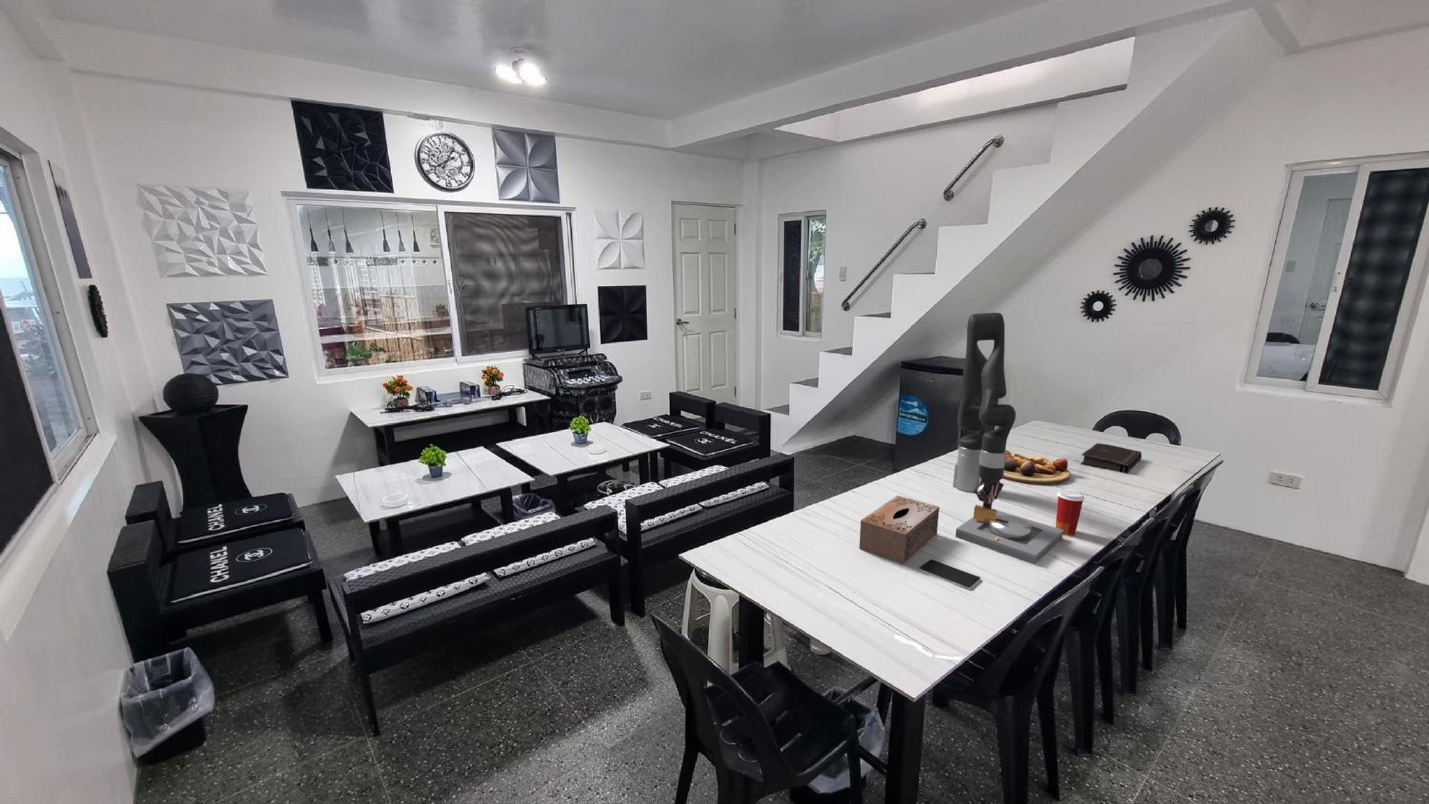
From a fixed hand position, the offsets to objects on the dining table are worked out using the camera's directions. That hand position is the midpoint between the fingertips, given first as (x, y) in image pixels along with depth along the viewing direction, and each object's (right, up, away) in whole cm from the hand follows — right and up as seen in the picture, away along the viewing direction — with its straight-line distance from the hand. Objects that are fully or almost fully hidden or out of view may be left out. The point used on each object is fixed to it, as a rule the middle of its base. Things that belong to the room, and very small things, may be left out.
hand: (986, 512), depth 190 cm
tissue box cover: (-32, -8, -8) cm, 34 cm away
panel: (+4, -7, -6) cm, 10 cm away
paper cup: (+25, -6, -2) cm, 26 cm away
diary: (+85, +10, +62) cm, 106 cm away
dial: (+2, -5, -5) cm, 7 cm away
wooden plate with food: (+42, +7, +52) cm, 67 cm away
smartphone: (-24, -13, -27) cm, 39 cm away
